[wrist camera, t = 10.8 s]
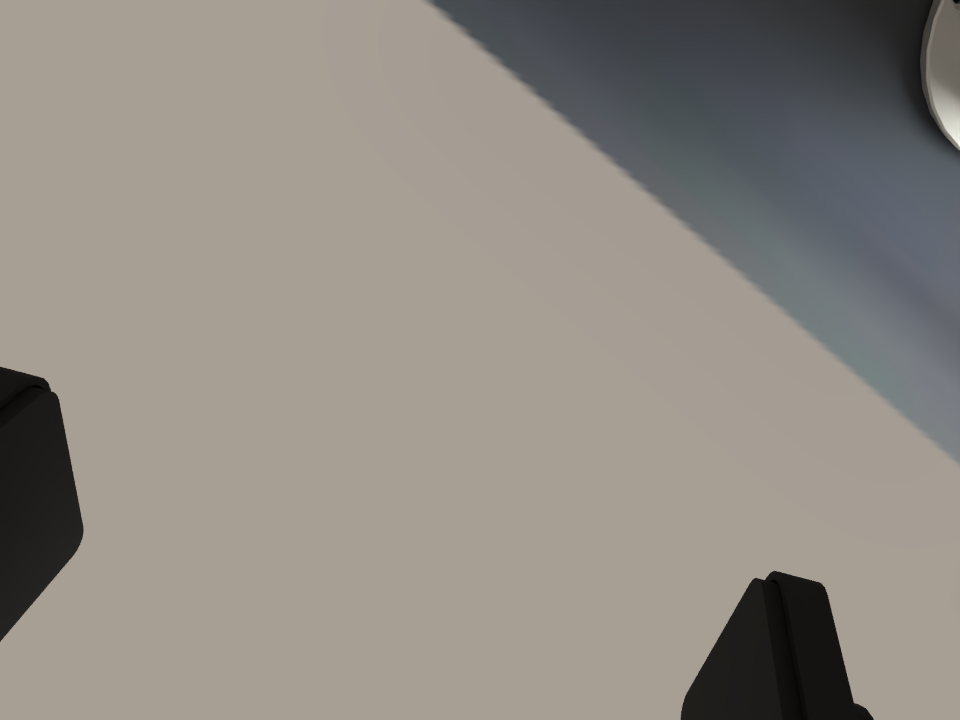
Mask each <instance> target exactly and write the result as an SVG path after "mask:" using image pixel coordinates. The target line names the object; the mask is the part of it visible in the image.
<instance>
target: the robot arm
mask: <svg viewBox="0 0 960 720" xmlns="http://www.w3.org/2000/svg"><path fill="white" fill-rule="evenodd" d="M920 68H921V80H922V90H923V93H924V96H925V99H926V102H927V105H928V108H929V111H930V114H931V116H932V117H933V119H934V120H935V122H936V124H937V125H938V127H939V128H940V130H941V132H942V133H943V135H944V136H945V137H946V138H947V139H948V140H949V141H950V142H951V143H952V144H953V145H954V146H955V147H956V148H957V149H958V150H960V0H959V1H958V2H953V0H933V3H932V6H931V9H930V13H929V16H928V19H927V22H926V25H925V28H924V32H923V40H922V48H921V56H920ZM82 537H83V523H82V518H81V512H80V507H79V502H78V497H77V491H76V486H75V481H74V476H73V471H72V465H71V460H70V455H69V450H68V444H67V439H66V434H65V429H64V424H63V419H62V413H61V408H60V403H59V399H58V396H57V395H56V394H55V393H54V392H51V389H50V387H49V384H48V382H47V381H46V380H45V379H44V378H41V377H37V376H33V375H30V374H26V373H22V372H18V371H14V370H11V369H7V368H3V367H0V641H1V640H2V639H3V638H4V636H5V635H6V634H7V633H8V632H9V631H10V629H11V628H12V627H13V626H14V625H15V623H16V622H17V621H18V620H19V619H20V618H21V616H22V615H23V614H24V613H25V612H26V611H27V609H28V608H29V607H30V606H31V605H32V604H33V602H34V601H35V600H36V599H37V598H38V596H39V595H40V594H41V593H42V592H43V591H44V589H45V588H46V587H47V586H48V584H49V583H50V582H51V581H52V580H53V579H54V577H55V576H56V575H57V574H58V573H59V572H60V570H61V569H62V568H63V567H64V566H65V564H66V563H67V562H68V561H69V560H70V559H71V558H72V556H73V555H74V554H75V552H76V551H77V549H78V547H79V545H80V543H81V540H82ZM681 720H874V719H873V717H872V716H871V715H870V713H869V712H868V710H867V709H866V708H864V707H862V706H860V705H859V704H855V703H854V702H853V698H852V693H851V689H850V685H849V681H848V677H847V673H846V669H845V665H844V661H843V657H842V653H841V648H840V644H839V640H838V636H837V632H836V628H835V623H834V620H833V616H832V611H831V607H830V603H829V599H828V595H827V592H826V589H825V587H824V586H823V585H822V584H821V583H819V582H815V581H812V580H808V579H804V578H800V577H796V576H792V575H789V574H785V573H781V572H777V571H773V572H771V573H770V574H769V575H768V577H767V578H766V579H765V580H761V579H758V578H755V579H753V580H752V581H751V583H750V584H749V586H748V588H747V589H746V591H745V593H744V595H743V596H742V598H741V600H740V602H739V603H738V605H737V607H736V609H735V611H734V612H733V614H732V616H731V617H730V619H729V621H728V623H727V624H726V626H725V628H724V630H723V631H722V633H721V635H720V636H719V638H718V640H717V642H716V643H715V645H714V647H713V649H712V650H711V652H710V654H709V656H708V657H707V659H706V661H705V663H704V664H703V666H702V668H701V670H700V671H699V673H698V675H697V676H696V678H695V680H694V682H693V683H692V685H691V687H690V689H689V691H688V692H687V694H686V696H685V699H684V702H683V707H682V711H681Z"/></svg>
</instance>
